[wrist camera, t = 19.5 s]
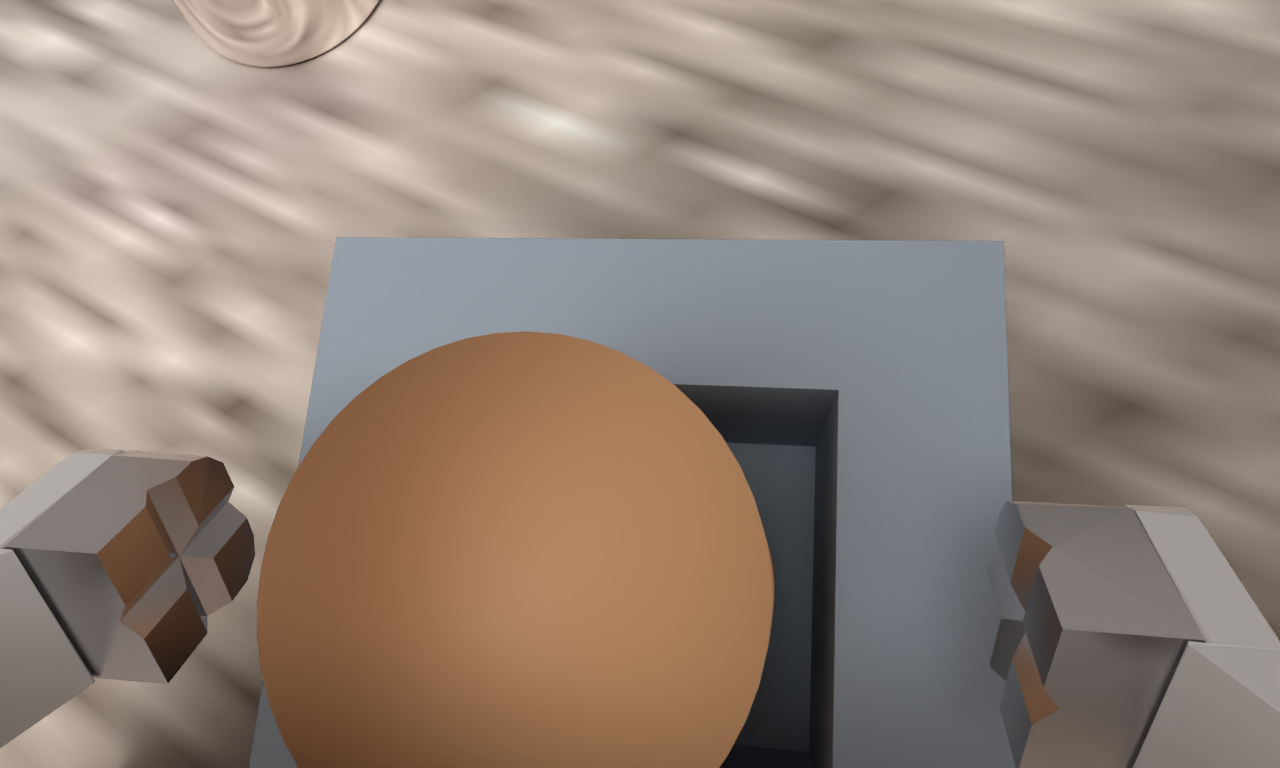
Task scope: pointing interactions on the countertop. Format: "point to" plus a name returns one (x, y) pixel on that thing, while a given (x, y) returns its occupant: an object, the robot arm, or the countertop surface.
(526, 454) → the dowel
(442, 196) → the countertop surface
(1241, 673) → the robot arm
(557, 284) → the socket block
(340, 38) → the beer glass
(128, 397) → the countertop surface
